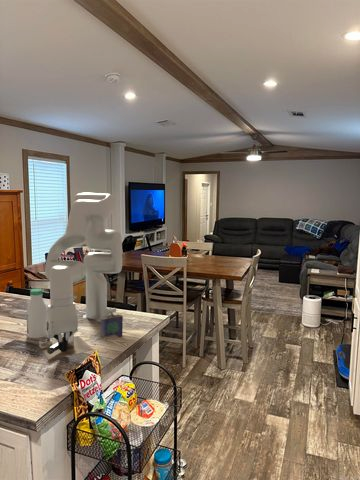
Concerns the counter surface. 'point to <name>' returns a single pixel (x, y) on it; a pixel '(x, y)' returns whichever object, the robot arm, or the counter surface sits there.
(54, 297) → the robot arm
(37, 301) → the milk bottle
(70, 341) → the crank handle
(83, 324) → the counter surface
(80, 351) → the lever stand
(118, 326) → the flask
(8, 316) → the counter surface
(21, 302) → the counter surface
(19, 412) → the counter surface
